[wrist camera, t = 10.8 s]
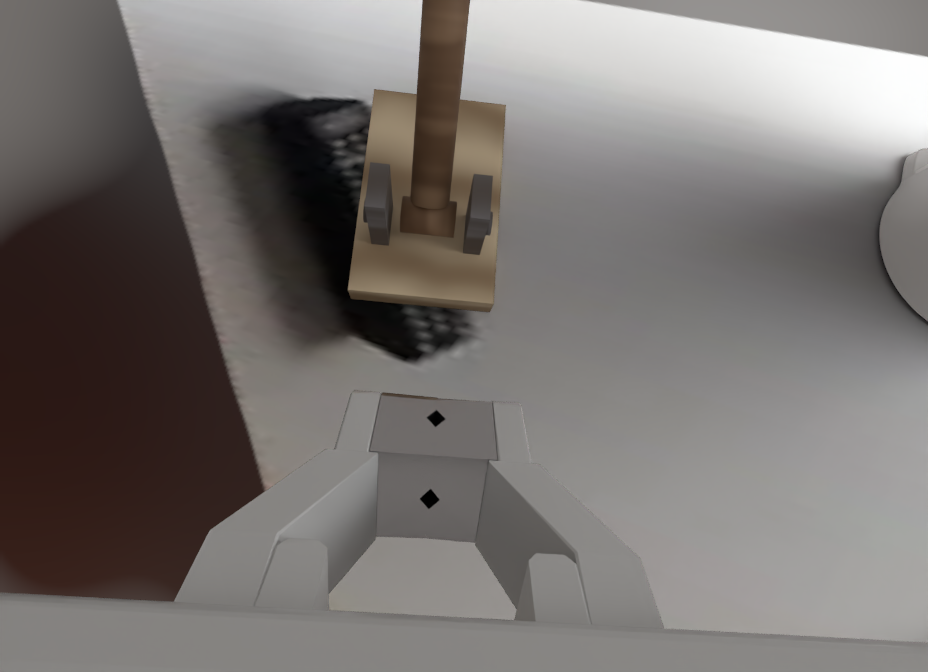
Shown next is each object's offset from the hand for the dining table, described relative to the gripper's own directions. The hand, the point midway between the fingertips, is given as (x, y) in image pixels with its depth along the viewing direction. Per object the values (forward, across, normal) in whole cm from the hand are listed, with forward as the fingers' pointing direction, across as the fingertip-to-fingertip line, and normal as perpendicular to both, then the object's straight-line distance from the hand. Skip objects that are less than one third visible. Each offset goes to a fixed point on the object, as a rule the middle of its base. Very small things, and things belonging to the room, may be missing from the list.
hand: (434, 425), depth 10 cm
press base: (+33, +1, +5) cm, 34 cm away
